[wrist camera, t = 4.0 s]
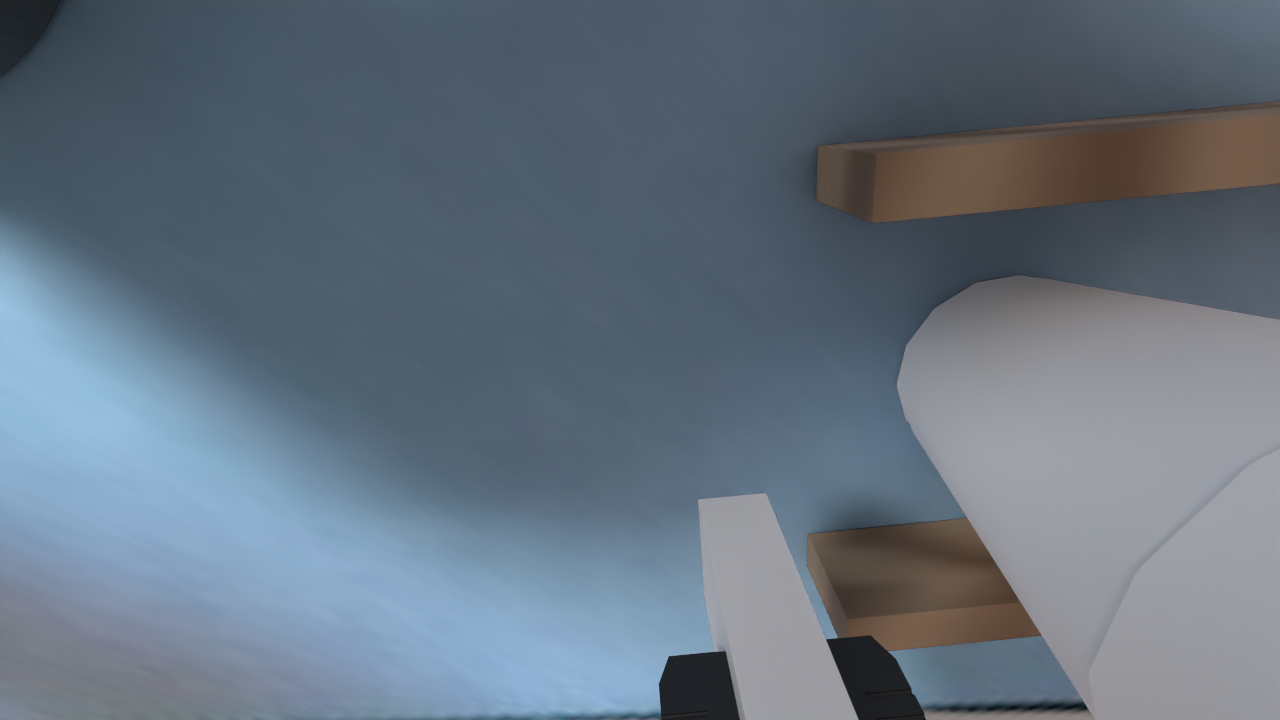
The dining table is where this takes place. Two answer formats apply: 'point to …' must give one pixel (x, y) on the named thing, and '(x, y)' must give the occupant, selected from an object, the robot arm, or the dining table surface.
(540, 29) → the dining table surface
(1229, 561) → the foam cup
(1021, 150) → the wooden frame
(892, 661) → the robot arm
